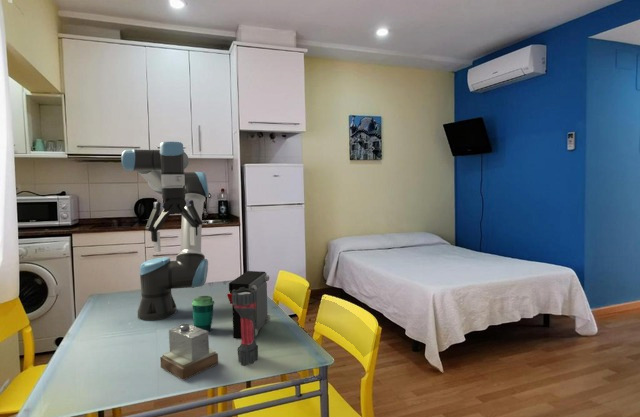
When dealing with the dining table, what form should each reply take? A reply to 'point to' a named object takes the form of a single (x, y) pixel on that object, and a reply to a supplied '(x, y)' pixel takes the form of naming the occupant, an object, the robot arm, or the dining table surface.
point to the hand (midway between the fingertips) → (176, 248)
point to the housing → (189, 342)
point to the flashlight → (246, 323)
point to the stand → (187, 364)
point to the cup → (203, 312)
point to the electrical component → (260, 286)
